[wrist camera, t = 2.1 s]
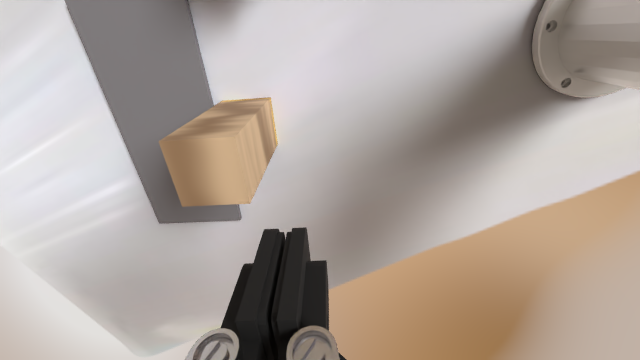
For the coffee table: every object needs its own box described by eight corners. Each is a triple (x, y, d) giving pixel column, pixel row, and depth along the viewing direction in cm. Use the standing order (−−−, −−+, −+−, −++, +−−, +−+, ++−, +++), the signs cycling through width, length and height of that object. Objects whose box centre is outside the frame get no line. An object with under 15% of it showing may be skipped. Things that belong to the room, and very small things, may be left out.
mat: (184, -10, 24) (181, -11, 23) (241, 217, 35) (240, 220, 34) (70, 0, 24) (64, -1, 24) (161, 220, 36) (159, 223, 35)
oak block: (270, 97, 28) (234, 136, 17) (277, 144, 30) (249, 203, 20) (222, 100, 28) (158, 141, 18) (233, 146, 31) (182, 206, 20)
